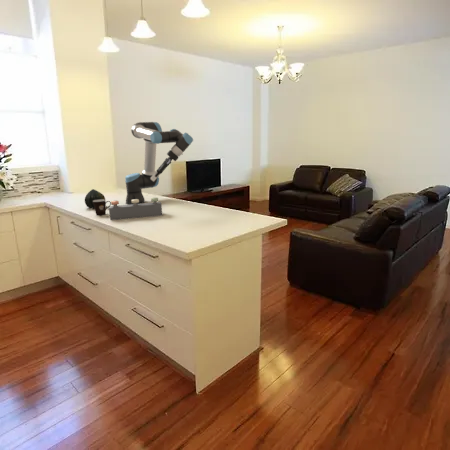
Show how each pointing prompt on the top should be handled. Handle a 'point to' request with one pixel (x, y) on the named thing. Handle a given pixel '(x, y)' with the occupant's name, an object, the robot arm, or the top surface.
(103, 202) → the coffee mug
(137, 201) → the button cream
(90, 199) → the squash
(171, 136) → the robot arm
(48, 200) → the top surface
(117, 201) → the button terracotta
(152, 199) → the button sage
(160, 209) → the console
